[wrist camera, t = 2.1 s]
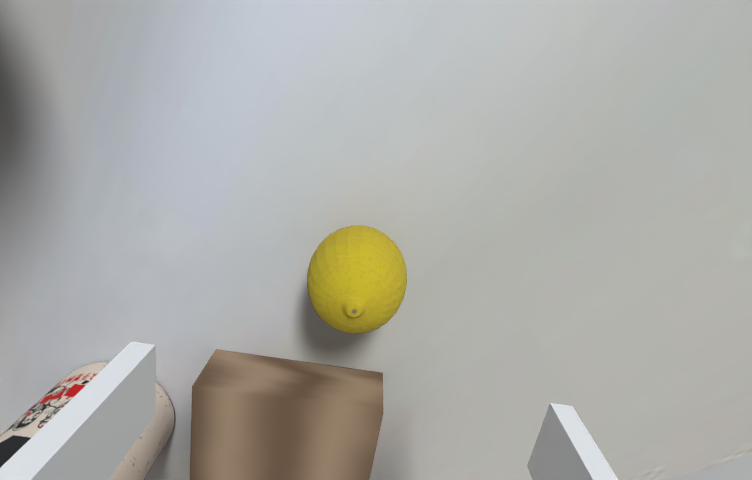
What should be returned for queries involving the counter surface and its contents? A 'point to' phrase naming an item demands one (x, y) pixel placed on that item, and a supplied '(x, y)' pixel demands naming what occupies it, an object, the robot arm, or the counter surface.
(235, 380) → the walnut plinth
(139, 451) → the teacup with lid
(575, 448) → the robot arm
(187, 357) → the counter surface
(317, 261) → the lemon
